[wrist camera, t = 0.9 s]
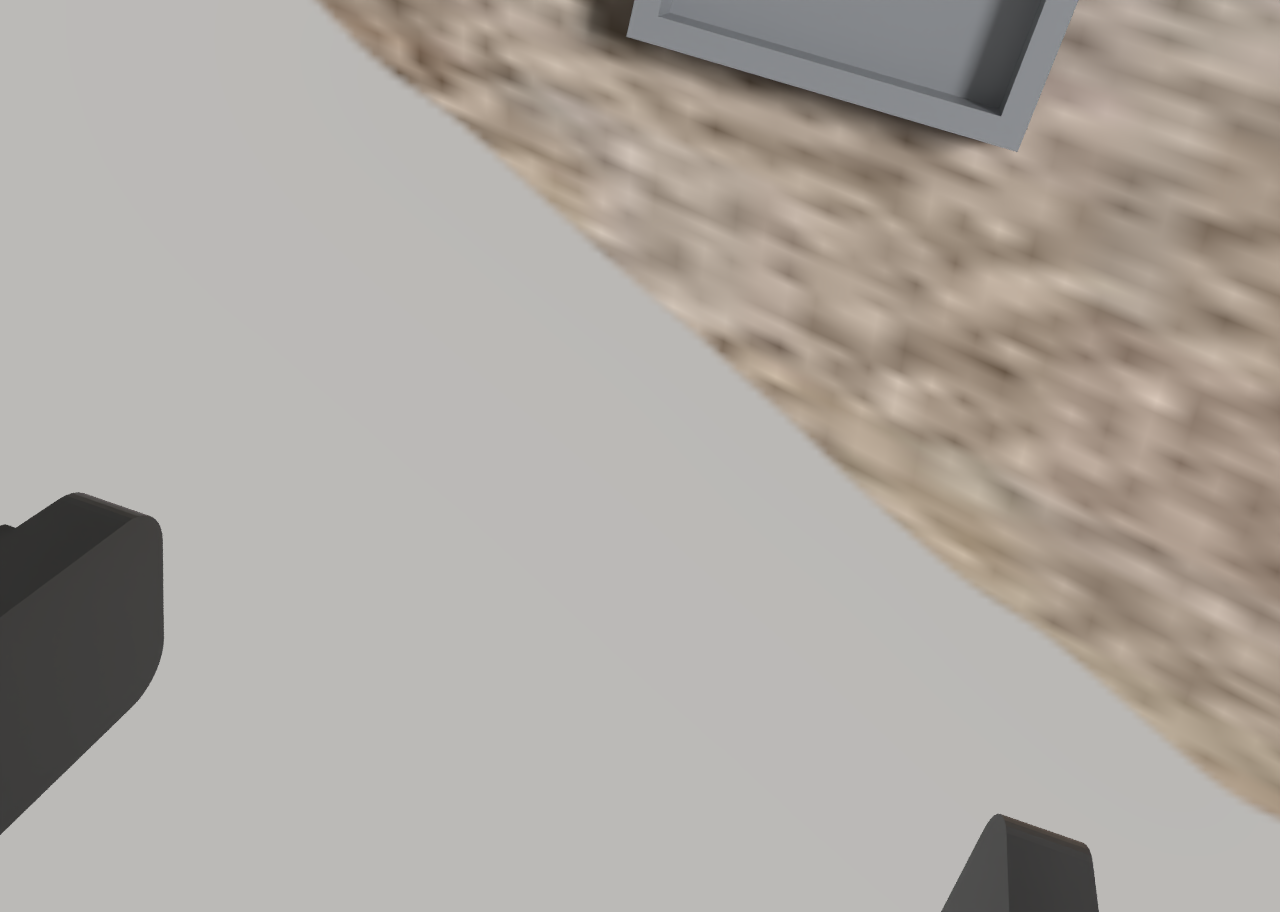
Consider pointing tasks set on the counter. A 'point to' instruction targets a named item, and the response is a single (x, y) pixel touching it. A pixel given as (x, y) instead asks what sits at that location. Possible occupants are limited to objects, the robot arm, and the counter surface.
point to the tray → (882, 52)
